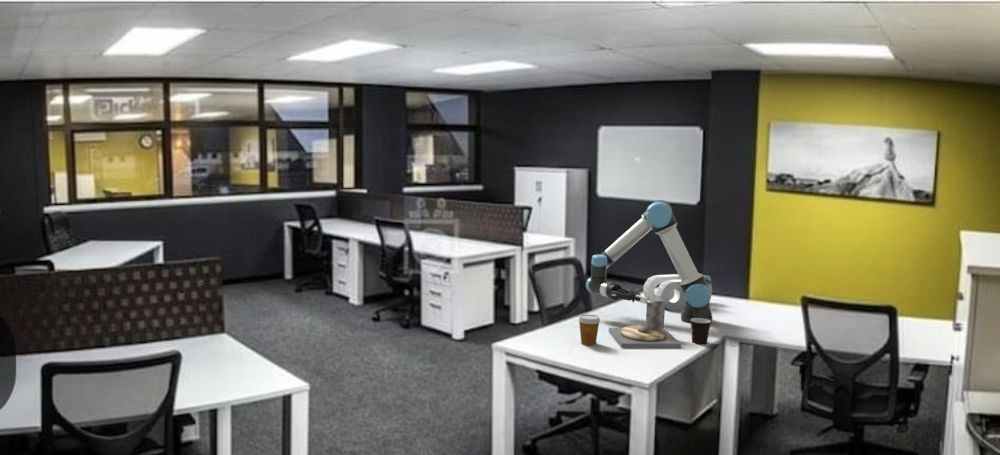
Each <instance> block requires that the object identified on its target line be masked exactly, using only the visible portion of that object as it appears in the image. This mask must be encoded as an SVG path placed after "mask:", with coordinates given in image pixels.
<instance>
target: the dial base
mask: <svg viewBox="0 0 1000 455" xmlns="http://www.w3.org/2000/svg"><path fill="white" fill-rule="evenodd" d="M622 328H623V327H608V333H609V335H610V336H611V337H612V338H613V339H614V341H615V342H616V343H617V345H618V346H619V347H620V348H621V349H678V348H679V349H681V348H682V342H680V341H679V340H678V339H676V338H677V337H675V336H673V335H672V333H670V332H669V331H668V330H667V329H666V328H665V327H664V328H663V329H662V330H664V331H666V333H667V334H666V338H665V339H662V340H657V341H641V340H634V339H630V338H626V337H624V336H622V335H621V329H622Z"/></svg>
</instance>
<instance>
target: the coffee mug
mask: <svg viewBox="0 0 1000 455" xmlns="http://www.w3.org/2000/svg"><path fill="white" fill-rule="evenodd" d="M710 328H711V321H710V320H708V319H703V318H693V319H691V323H690V331H691V342H692V344H694V343H695V344H694V345H702V346H703V344H704V345H707V343H708V339H709V334H710Z"/></svg>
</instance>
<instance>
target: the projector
mask: <svg viewBox="0 0 1000 455" xmlns="http://www.w3.org/2000/svg"><path fill="white" fill-rule="evenodd" d="M680 282H681V278H680V276H679V274H678V273H675V274H674V273H673V274H657V275H652V276H650V277H648V278H647V279H646V281H645V282H644V285H643V288H642V290H643V291H642V292H643V295H644V297H648V302H651V301H657V300H665V309H668V310H670V311H674V310H683V309H684V306H685V300H686V299H685V294H684V292H683V290H682V288H681V286H680ZM657 286H658V287H657ZM656 287H657V290H656V293H655V289H656ZM710 290H711V296H712V295H713V287H712V285H711V286H710Z"/></svg>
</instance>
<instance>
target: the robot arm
mask: <svg viewBox="0 0 1000 455" xmlns="http://www.w3.org/2000/svg"><path fill="white" fill-rule="evenodd" d="M677 225H678V221H677V219H676V217H675V216H674V213H673V209H672V206H671V204H670V203H668V202H667V201H665V200H661V199H658V200H655V201H653V202H652V203H651V204H649V205H648V206H647V209H646V210H645V211H644V212H643V213H642V214H641V218H640V219H639V220H637V221H636V222H635V223H634V224H632V226H630V227H629V229H627V230H626V231H625V232H624V233H622V235H621V236H619V237H618V238H617V239H616V240H615V241H613V243H612V244H611V245H610V246H608V247H607V248H606V249H605V250H604V251H602V252H601V254H593V255H592V256H591V262H590V264H591V266H590V268H591V270H590V273H591V274H590V277H589V278H588V279H587V280H586V282H585V287H586V290H587V291H588V292H590V293H592V294H593V295H599V296H602V297H605V298H606V299H608V298H609V299H612V300H618V299H620V300H625V301H631V302H632V303H635V302H639V303H642V304H646V305H647V302H649V300H648V297H645V296H643V295H641V293H639V292H637V291H634V290H633V289H629V290H627V289H625V288H622V286H621V285H620V284H618V283H614V282H611V281H608V280H607V270H608V268H609V267H611V266H612V265H613V264H614V263H615V262H616V261H617V260H619V259H620V258H621V257H622V256H623V255H624V254H626V252H628V251H629V250H630V249H631V248H632V247H633V246H634V245H635V244H637V243H638V242H639V241H640V240H641V239H643V238H644V236H646V235H647V234H649V232H650V231H651V230H652V231H653V232H654V234H656V235H658V236H659V238H660V241H661V242H662V243H663V246H664V248H665V249H666V251H667V254H668V256H669V258H670V260H671V262H672V264H673V266H674V268H675V270H676V272H677V274H679V276H680V278H681V282H680V286H681V288H682V290H683V292H684V294H685V299H686V300H685V306H684V309H682V312H681V314H680V320H681V321H682V322H685V323H689V324H691V319H693V318H703V319H708V320H710V321H711V323H712V322H713V315H712V311H711V307H710V304H711V303H710V302H711V299H712V295H711V290H710V286H712V279H711V278H712V277H711V276H709V275H704V274H703V273H700V272H698V269H697V267H696V266H695V263H694V262H693V260H692V257H691V256H690V253H689V251H688V249H687V247H686V245H685V243H684V241H683V239H682V237H681V234H680V232H679V231H678V229H677ZM711 323H710V324H711Z"/></svg>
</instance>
